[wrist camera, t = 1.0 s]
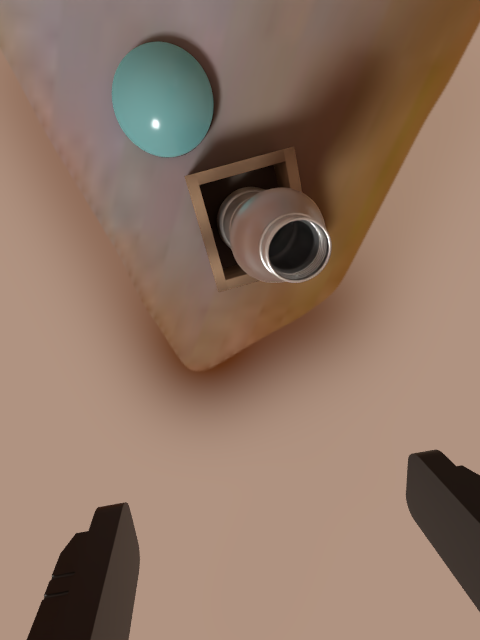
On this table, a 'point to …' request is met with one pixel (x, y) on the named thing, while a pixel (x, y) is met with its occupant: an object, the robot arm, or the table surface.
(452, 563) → the robot arm
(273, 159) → the walnut holder
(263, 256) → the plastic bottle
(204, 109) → the teal coaster
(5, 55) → the table surface
